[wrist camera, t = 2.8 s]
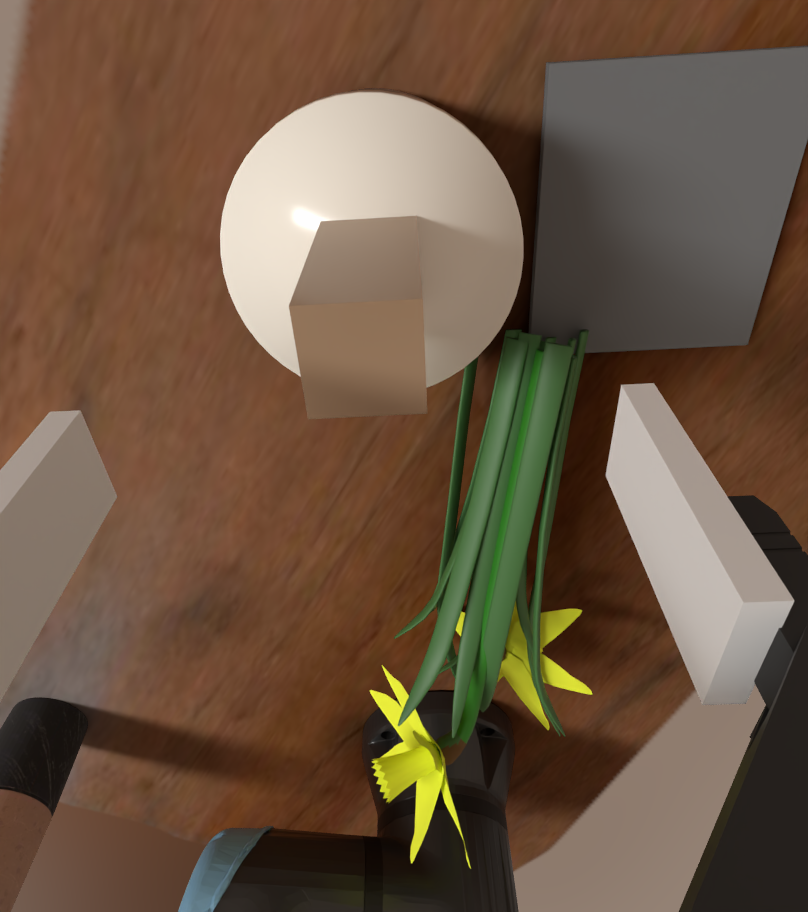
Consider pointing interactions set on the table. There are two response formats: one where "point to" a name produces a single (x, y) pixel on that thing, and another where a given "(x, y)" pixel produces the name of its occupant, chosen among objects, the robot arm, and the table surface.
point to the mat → (664, 195)
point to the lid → (371, 250)
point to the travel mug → (32, 781)
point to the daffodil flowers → (491, 569)
